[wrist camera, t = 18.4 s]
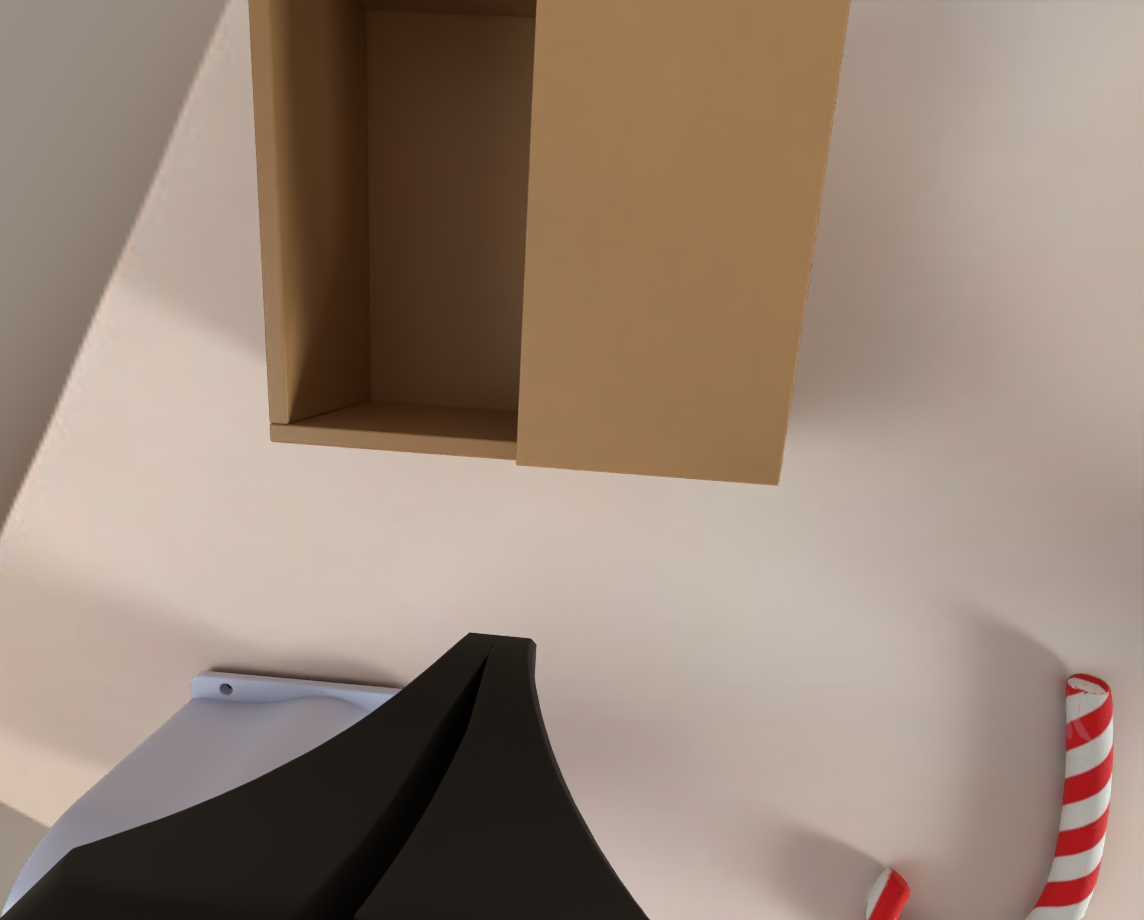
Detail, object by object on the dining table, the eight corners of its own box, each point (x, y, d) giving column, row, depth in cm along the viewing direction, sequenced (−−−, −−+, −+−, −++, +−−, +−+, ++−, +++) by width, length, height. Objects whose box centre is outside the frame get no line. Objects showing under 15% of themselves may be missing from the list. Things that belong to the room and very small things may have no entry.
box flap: (867, -152, 11) (877, -170, 11) (774, 482, 14) (779, 486, 14) (546, -160, 12) (543, -178, 11) (518, 461, 14) (515, 465, 14)
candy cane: (1202, 708, 20) (1039, 1023, 23) (1167, 685, 21) (1017, 988, 25) (983, 661, 20) (852, 982, 24) (961, 641, 22) (839, 948, 25)
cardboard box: (776, 19, 18) (862, -138, 12) (724, 437, 20) (773, 479, 15) (357, 0, 18) (239, -160, 12) (363, 411, 21) (269, 442, 15)
